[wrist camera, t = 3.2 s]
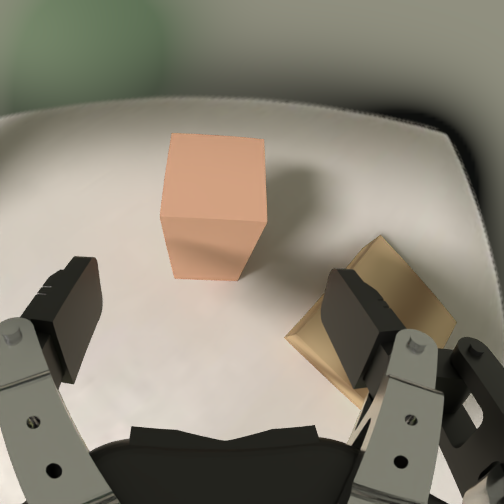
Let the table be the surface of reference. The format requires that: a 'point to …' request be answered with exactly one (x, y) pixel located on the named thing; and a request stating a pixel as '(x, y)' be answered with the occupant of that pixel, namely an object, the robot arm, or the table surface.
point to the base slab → (399, 300)
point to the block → (213, 204)
